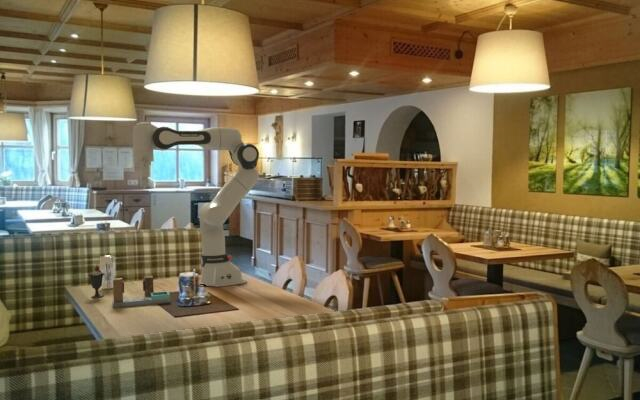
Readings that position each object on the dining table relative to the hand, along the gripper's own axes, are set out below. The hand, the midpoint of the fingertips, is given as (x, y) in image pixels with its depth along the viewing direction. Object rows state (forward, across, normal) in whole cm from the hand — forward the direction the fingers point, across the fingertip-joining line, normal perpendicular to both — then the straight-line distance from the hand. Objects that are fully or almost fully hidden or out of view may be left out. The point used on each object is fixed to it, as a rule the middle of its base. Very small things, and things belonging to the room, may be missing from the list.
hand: (144, 187), depth 266 cm
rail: (+48, -28, +4) cm, 56 cm away
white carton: (+47, +13, +18) cm, 52 cm away
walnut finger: (+48, -17, +1) cm, 51 cm away
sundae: (+47, -7, +22) cm, 53 cm away
